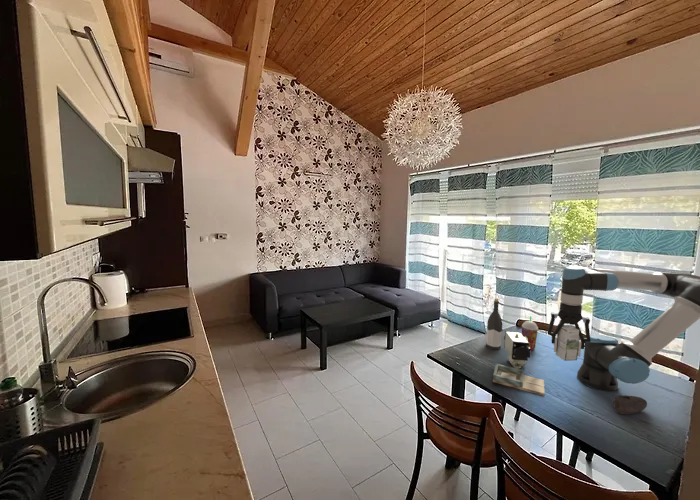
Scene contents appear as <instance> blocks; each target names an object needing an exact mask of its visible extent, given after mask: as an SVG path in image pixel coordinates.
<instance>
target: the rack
mask: <svg viewBox="0 0 700 500" xmlns="http://www.w3.org/2000/svg"><path fill="white" fill-rule="evenodd" d="M524 374H525V370H523V369H521V368H520V369H516V368H514V367H513V366H508V365H503V364H499V363H495V367H494V370H493V374H492V375H493V376H492V383H496V384H499V385H503V386H506V387H510V388H514V389H518V390H522V391H525V392H529V393H531V394H535V395H540V396H543V397H545V392H546V390H545V380H544V379H541V378H537V377H533V376H529V375H524Z"/></svg>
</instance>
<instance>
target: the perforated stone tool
mask: <svg viewBox="0 0 700 500" xmlns="http://www.w3.org/2000/svg"><path fill="white" fill-rule="evenodd" d="M612 404H613V405H614V410H615V412H617V414H619V415H632V414H636V413H640V412H643V411H644V410H645V409H646V408H647V406H648V402H647V400H646V399H645V398H643V397H639V396H635V395H625V394H624V395H615V396H614V400H613V401H612Z"/></svg>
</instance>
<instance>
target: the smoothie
mask: <svg viewBox="0 0 700 500" xmlns="http://www.w3.org/2000/svg"><path fill="white" fill-rule="evenodd" d="M538 330H539V327H538V325H537V324H536V322H534V321H532V316H529V320H526V321H523V323H522V325H521V335H522V336H523V337H526V339H528V343H529V348H530V349H531V351H534V350H535V348H536V344H537V337H538V332H539V331H538ZM531 351H530V352H531Z"/></svg>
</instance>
